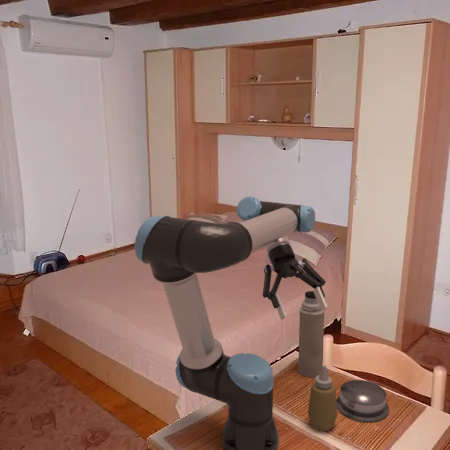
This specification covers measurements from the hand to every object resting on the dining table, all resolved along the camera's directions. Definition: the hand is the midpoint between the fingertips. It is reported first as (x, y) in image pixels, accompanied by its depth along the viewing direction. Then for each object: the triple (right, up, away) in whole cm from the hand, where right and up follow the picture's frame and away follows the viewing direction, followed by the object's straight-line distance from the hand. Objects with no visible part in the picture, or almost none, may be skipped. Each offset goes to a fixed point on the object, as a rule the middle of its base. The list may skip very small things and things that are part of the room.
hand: (304, 313), depth 140 cm
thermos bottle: (+6, -24, +26) cm, 36 cm away
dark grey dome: (+18, -29, +6) cm, 34 cm away
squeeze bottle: (+5, -31, -2) cm, 31 cm away
